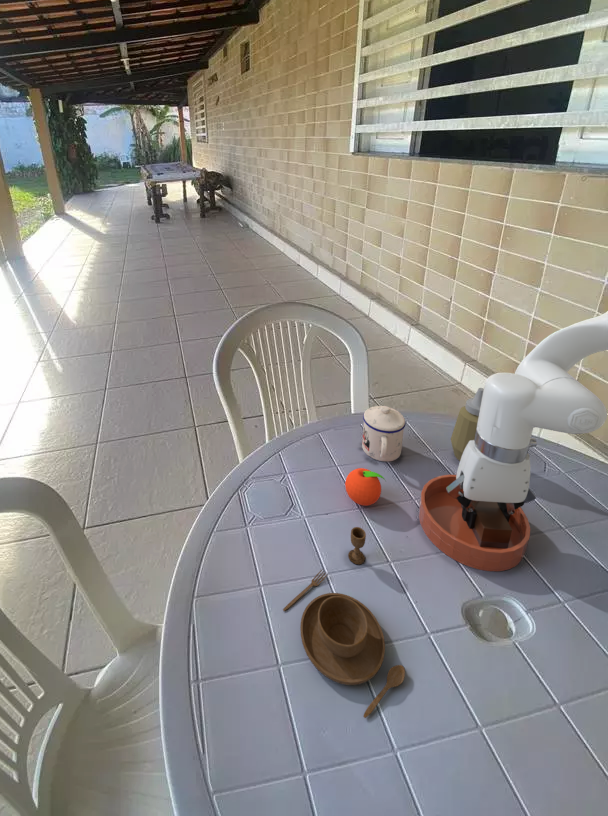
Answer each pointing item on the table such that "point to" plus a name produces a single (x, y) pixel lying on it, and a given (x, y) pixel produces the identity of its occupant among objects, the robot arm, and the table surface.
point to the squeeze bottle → (466, 424)
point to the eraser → (491, 526)
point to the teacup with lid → (383, 433)
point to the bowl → (467, 530)
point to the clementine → (363, 486)
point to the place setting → (345, 634)
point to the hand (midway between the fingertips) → (483, 522)
